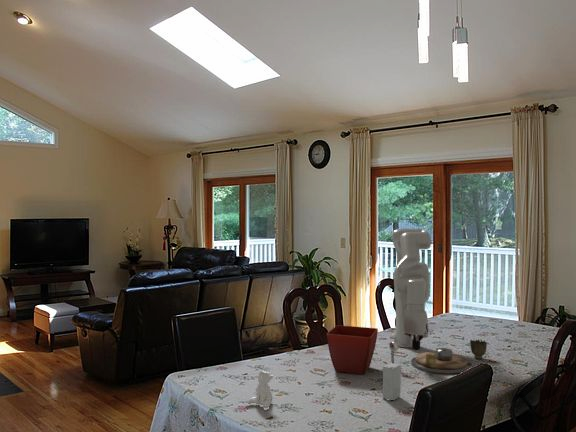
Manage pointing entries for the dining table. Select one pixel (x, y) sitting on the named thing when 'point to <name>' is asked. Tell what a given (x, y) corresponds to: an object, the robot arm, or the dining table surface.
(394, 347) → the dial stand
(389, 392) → the skincare box
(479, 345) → the cup
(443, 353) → the cover
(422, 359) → the platter
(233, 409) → the dining table surface
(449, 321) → the dining table surface
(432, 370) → the turntable base
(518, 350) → the dining table surface
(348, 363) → the plant pot
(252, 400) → the sitting furry creature
